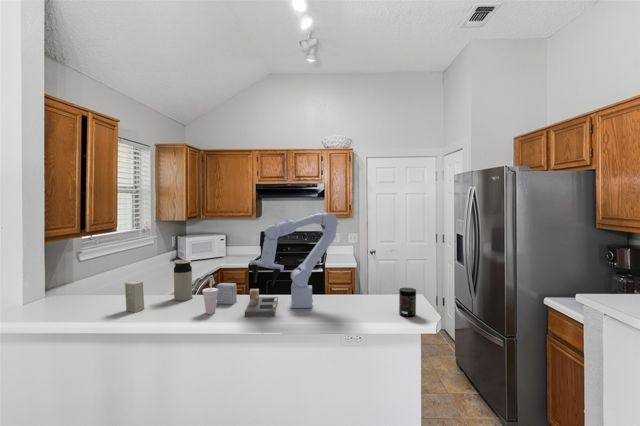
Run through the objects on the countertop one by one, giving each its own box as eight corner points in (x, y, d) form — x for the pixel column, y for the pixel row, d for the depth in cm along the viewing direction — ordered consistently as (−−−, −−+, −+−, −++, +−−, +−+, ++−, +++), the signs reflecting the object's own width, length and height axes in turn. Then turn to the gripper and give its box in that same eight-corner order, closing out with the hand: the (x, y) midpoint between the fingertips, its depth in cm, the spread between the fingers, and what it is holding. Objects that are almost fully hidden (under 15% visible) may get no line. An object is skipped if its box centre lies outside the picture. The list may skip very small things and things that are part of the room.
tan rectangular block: (258, 302, 152) (258, 288, 152) (257, 304, 148) (257, 290, 148) (250, 302, 152) (250, 288, 151) (249, 304, 148) (249, 291, 148)
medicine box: (236, 301, 160) (236, 283, 159) (233, 304, 155) (233, 285, 155) (220, 301, 160) (220, 282, 160) (216, 304, 156) (216, 285, 156)
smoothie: (221, 310, 147) (221, 278, 146) (212, 315, 141) (211, 281, 140) (209, 309, 149) (208, 277, 148) (199, 314, 143) (198, 280, 142)
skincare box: (144, 309, 148) (143, 281, 148) (135, 312, 144) (134, 284, 144) (134, 307, 151) (133, 280, 150) (125, 310, 147) (124, 282, 146)
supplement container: (417, 313, 143) (417, 288, 142) (413, 318, 137) (414, 292, 136) (401, 311, 146) (401, 286, 146) (397, 316, 140) (397, 290, 140)
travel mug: (183, 301, 159) (183, 263, 159) (170, 300, 162) (169, 261, 162) (196, 297, 167) (195, 260, 166) (183, 295, 170) (182, 259, 169)
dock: (277, 301, 160) (277, 296, 160) (274, 316, 140) (274, 310, 140) (251, 301, 160) (251, 296, 159) (244, 316, 140) (244, 311, 139)
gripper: (249, 251, 146) (244, 282, 146) (283, 257, 145) (278, 289, 145) (254, 249, 153) (249, 279, 153) (286, 255, 152) (281, 285, 152)
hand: (263, 284), depth 149 cm, fingers open, 7 cm apart
